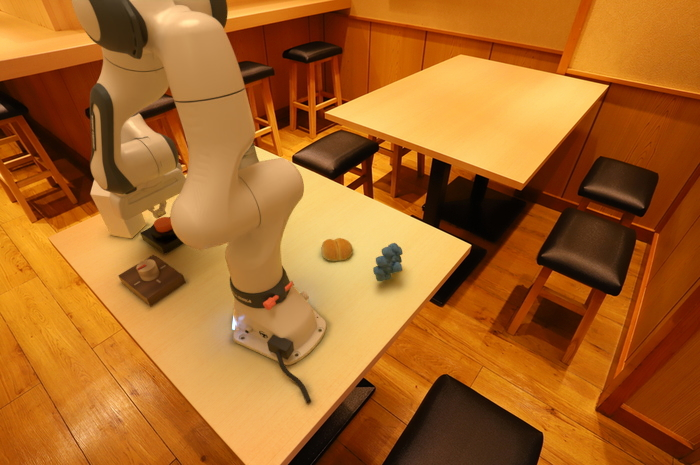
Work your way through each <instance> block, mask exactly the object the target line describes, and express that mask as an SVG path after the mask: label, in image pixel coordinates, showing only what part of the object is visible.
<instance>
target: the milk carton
mask: <svg viewBox="0 0 700 465" xmlns="http://www.w3.org/2000/svg"><path fill="white" fill-rule="evenodd" d="M89 195H90V197H91V199H92V201H93V202H94V204H95V206H96V209H97V211H98V212H99V214H100V217H101V218H102V220H103V222H104V224H105V226H106V228H107V230H108V232H109V234H110V236H113V237H120V238H125V239H133V238H134V237H135V236H136V235H137V234H139V232H141V230H142V229H143V228H145V226H146V225H147V222H146V220H145V218H144V215H143V212H142V213H140V214H138V215H136V216H134V217H132V218H130V219H128V220H123V219H120V218H119V217H117V216H116V214H115V213H114V211H113V208H112V205H111V202H110V197H109V196H110V192H108V191H105V190H103V189H102V188H101V187H100V186H99V185H98V183H97V182H96V181H95V179H94V178H93V182H92V186H91V189H90V193H89Z"/></svg>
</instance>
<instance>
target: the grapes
mask: <svg viewBox="0 0 700 465" xmlns="http://www.w3.org/2000/svg"><path fill="white" fill-rule="evenodd" d="M402 255H403V248H401V246H399V245H398V244H397V243H396V242H392V243H390V244H388V246H385V247H383V248H382V249H381V255H378V256H377V257H375V264H376V265H375V266H373V268H372V271H373V275H374V276H375V280H376V281H377V282H384V281H389V280H392V274H396V273H400V272H402V271H403V265H402V262H403V260H402Z"/></svg>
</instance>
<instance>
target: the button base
mask: <svg viewBox="0 0 700 465" xmlns="http://www.w3.org/2000/svg"><path fill="white" fill-rule="evenodd" d="M168 217H169V218H170V216H168ZM140 236H141V239H142V240H143V241H144V242H146V243H147V244H149V245H150V246H151V247H153V248H154V249H156V250H157V251H159V252H160V253H161V254H163V255H167V254H168V253H170V252H171V251H174V250H175V249H176V248H179V247H180V246H181V245H183V244H184V243H183V242H182V241H181V240H180V239H179V238H178V237H177V235H176V234H175V232H174V230H173V228H172V229H171V230H169V231H167V232H163V233H161V232H157V231H156V229H155V226H154V223H153V224H152V225H151V226H150V227H148V228H147V229H144V230H143V231H140Z"/></svg>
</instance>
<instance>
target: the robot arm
mask: <svg viewBox="0 0 700 465" xmlns="http://www.w3.org/2000/svg"><path fill="white" fill-rule="evenodd" d="M71 5H72V9H73V13H74V14H75V16H76V19H77V21H78V22H79V24H80V26H81V27H82V29H83V30H84V32H85V33H86V35H87V36H88V38H89V39H90V40H91V41H92V42H94V43H95V44H96V45H98V46H100V48H101V52H102V66H101V72H100V75H99V78H98V79H97V81H96V83H95V84H94V85H93V86H92V88H91V89H90V92H89V120H90V122H89V123H90V139H91V155H90V159H89V168H90V172H91V175H92V178H93V180H94V179H95V181H96V182H97V183H98V185H99V186H100V187H101V188H102V189H103V190H105V191H108V192H110V196H109V197H110V202H111V205H112V208H113V211H114V213H115V214H116V216H117V217H119V218H120V219H123V220H128V219H130V218H132V217H134V216H136V215H138V214H140V213H142V214H143V212H146V211H149V212H150V213H151V214H152V216H153V218H155V219H156V220H157V219H159V218H162V217H164V216H166V215H167V212H166V208H167V204H168V202H167V201H168V200H170V199H172V198H174V197H176V196H177V197H176V198H175V200H174V201H173V203H172V205H171V208H170V214H169V217H170V219H171V225H172V228H173V230H174V232H175V234H176V235H177V237H178V238H179V239H180V240H181V241H182V242H183V244H184V245H186V246H187V247H190V248H191V249H194V250H197V251H204V250H209V249H213V248H216V247H220V246H222V245H226V244H227V245H226V248H225V252H224V253H225V255H224V258H225V262H226V266H227V269H228V273H229V287H230V290H231V293H232V295H233V297H234V298H233V308H232V315H233V318H232V327H231V329H232V330H233V336H232V338H233V341H234V343H235V344H236V343H237V345H240V346H242V347H244V348H247V349H249V350H251V351H252V352H253V351H254V352H256V353H257V354H260V355H262V356H264V357H267V358H268V359H271V360H273V361H275V362H278V364H279V367H280V369H281V370H282V372H283V374H284V375H285V376H286V377H287V378H289V379H290V380H291V381H293V382H294V383H295V384H296V385H297V386H298V387H299V389H300V390H301V393H302V395H303V398H304V400H305V402H306V403H307V404H308V403H310V402H312V399H311V396H310V395H309V392H308V389H307V388H306V386H305V384H304V383H303V382H302V380H301V379H300V378H299V377H297V376H296V375H295V374H293V373H292V372H291V371H290V370H288V368H287V366H291V365H293V364H296V363H298V362H300V361H301V360H303V359H304V358H306V357H307V356H308V355H309V354H310V353H311V352H312V351H313V350H314V349H315V348H316V347H317V346H318V344H319V343H321V340H322V339H323V337H324V335H325V333H326V330H327V325H328V324H327V322H326V320H325V318H323V317H322V316H321V315H320V313H318V312H317V311H316V310H315V309H314V308H313V306H312V305H311V304H310V303H309V302H308V300H309V294H308V293H307V292H306V291H304V290H303V291H301V292H299V291H298V289H297V288H296V287H295V283H294V281H293V280H290V278H289V276H288V274H287V271H286V269H285V267H284V266H283V261H282V248H281V247H282V239H283V236H284V233H285V229H286V226H287V224H288V222H289V219H290V217H291V215H292V213H293V211H294V209H295V208H296V206H297V205H298V204H299V203H300V201H301V200H302V199H303V196H304V192H305V185H304V179H303V176H302V174H301V172H300V170H299V168H297V166H296V165H295V164H293V163H292V162H291V161H290V160H288V159H286V158H284V157H283V158H282V157H279V158H271V159H266V160H265V159H264V160H261V161H260V160H259V162H257V163H255V164H252V165H250V166H247V167H245V168H243V169H240V170H238V169H239V165H240V162H241V159H242V157H243V156H244V154H245V153H246V152H247V150H248V149H249V148H250V147H251V145H252V143H254V141H255V138H256V125H255V122H254V117H253V113H252V109H251V106H250V101H249V97H248V93H247V89H246V86H245V85H246V84H245V81H244V78H243V74H242V71H241V68H240V65H239V62H238V59H237V56H236V54H235V52H234V49H233V46H232V44H231V42H230V39H229V37H228V34H227V32H226V30H225V28H226V25H227V21H228V13H229V12H228V11H229V10H228V2H227V0H71ZM168 89H170V93H171V96H172V100H173V102H174V105H175V107H176V111H177V113H178V114H177V115H178V118H179V119H180V123H181V127H182V129H183V133H184V137H185V141H186V145H187V150H188V165H187V172H186V176H185V174H184V172H183V171H184V170H183V165H182V164H181V163H180V162H179V159H180V155H179V151H178V148H177V146H176V144H175V142H174V140H173V139H172V138H170V137H169V136H167V135H166V134H165V135H164V134H162V133H160V132H157V131H155V130H153V129H152V128H151V127H150V126H148V124H147V123H146V121H145V119H144V118H143V116H142V115H141V114H140V113H139V112H140V111H142V110H143V109H144V108H146V107H148V106H150V105H151V104H153V103H155V102H156V101H158V100H160V99H161V98H162V97H163V96H164V95H165V93H166V92H167V91H168ZM158 205H159V206H158ZM156 206H158V208H157V209H156V208H155V207H156Z"/></svg>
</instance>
